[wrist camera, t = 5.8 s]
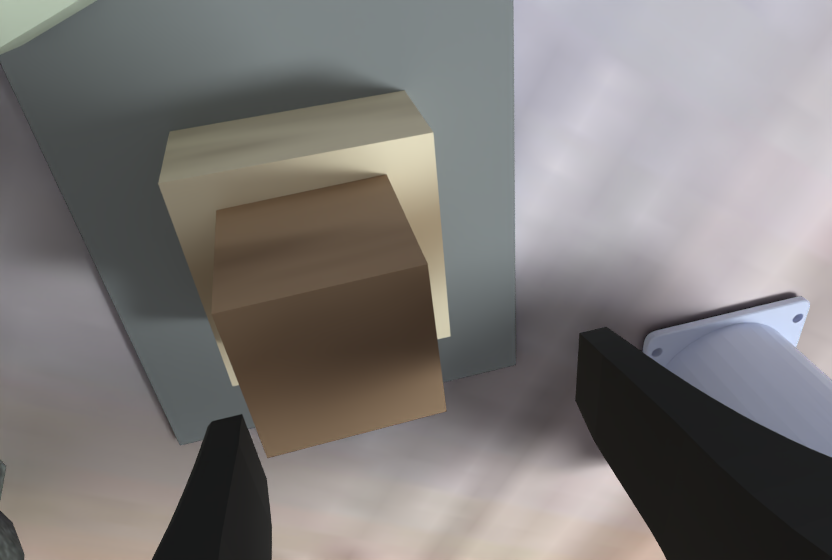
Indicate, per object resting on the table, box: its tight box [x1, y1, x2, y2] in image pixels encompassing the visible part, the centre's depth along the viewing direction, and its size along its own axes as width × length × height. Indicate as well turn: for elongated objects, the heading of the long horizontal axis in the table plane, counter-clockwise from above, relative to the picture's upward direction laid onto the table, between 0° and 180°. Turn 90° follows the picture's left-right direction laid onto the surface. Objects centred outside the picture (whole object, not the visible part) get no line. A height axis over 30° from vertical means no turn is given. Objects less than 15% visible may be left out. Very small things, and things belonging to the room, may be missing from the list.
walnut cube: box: [211, 174, 446, 458], centre depth 16 cm, size 4×4×4 cm
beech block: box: [158, 90, 451, 386], centre depth 20 cm, size 7×7×4 cm
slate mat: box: [0, 0, 516, 445], centre depth 21 cm, size 18×14×1 cm
